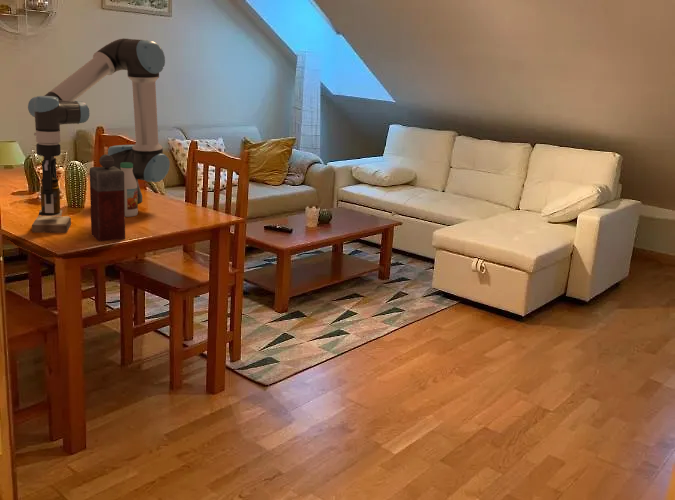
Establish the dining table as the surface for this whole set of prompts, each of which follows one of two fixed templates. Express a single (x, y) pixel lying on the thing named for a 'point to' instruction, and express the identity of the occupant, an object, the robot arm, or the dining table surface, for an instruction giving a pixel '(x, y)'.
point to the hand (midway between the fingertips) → (51, 210)
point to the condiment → (55, 199)
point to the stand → (51, 224)
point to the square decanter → (107, 201)
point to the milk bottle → (130, 190)
